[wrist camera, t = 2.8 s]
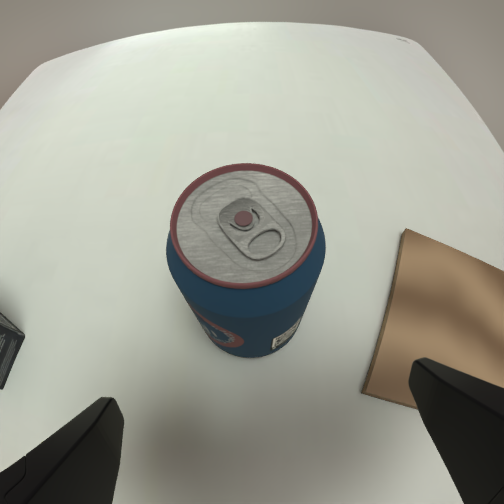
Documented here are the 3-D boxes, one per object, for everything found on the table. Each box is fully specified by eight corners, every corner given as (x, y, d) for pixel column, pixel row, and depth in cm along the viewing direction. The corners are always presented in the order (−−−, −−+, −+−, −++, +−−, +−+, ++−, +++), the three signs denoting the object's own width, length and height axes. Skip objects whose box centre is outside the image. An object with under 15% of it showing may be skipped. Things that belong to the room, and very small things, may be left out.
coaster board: (498, 427, 16) (505, 426, 15) (361, 393, 19) (365, 391, 18) (515, 284, 22) (520, 280, 22) (401, 234, 25) (405, 228, 25)
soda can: (185, 305, 23) (127, 207, 12) (259, 254, 25) (258, 133, 14) (241, 380, 20) (222, 343, 10) (318, 320, 22) (369, 228, 12)
